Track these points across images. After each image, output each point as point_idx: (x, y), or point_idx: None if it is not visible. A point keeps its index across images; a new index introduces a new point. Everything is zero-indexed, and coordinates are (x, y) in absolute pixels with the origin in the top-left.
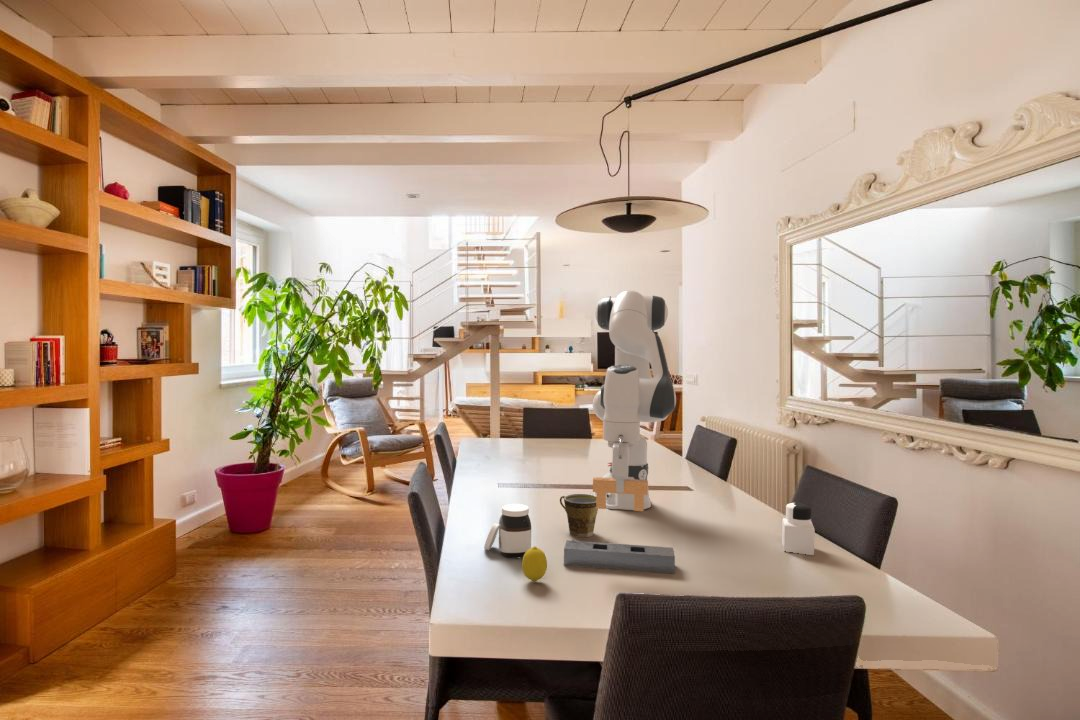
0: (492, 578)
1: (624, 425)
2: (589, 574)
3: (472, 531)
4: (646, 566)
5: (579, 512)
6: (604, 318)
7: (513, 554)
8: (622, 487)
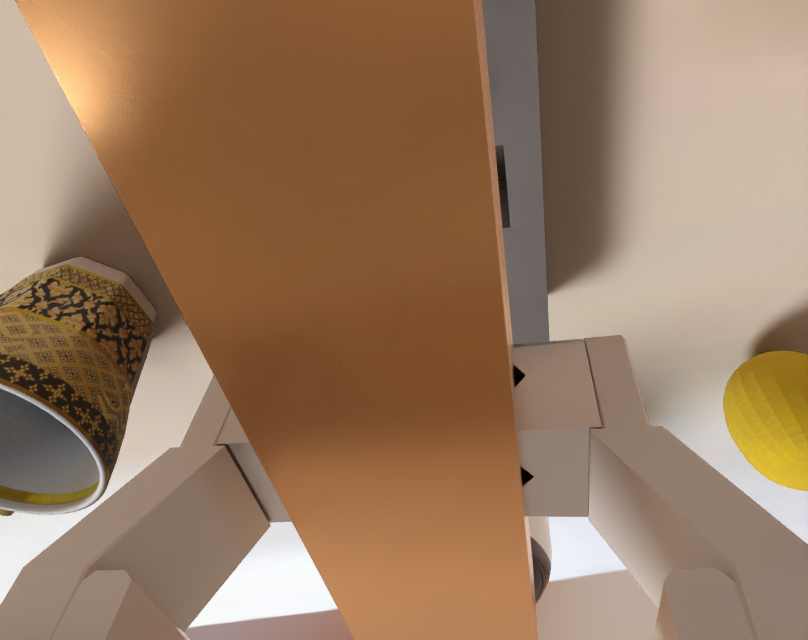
0: (726, 469)
1: None
2: (638, 169)
3: (319, 576)
4: None
5: (115, 400)
6: None
7: None
8: (641, 407)
